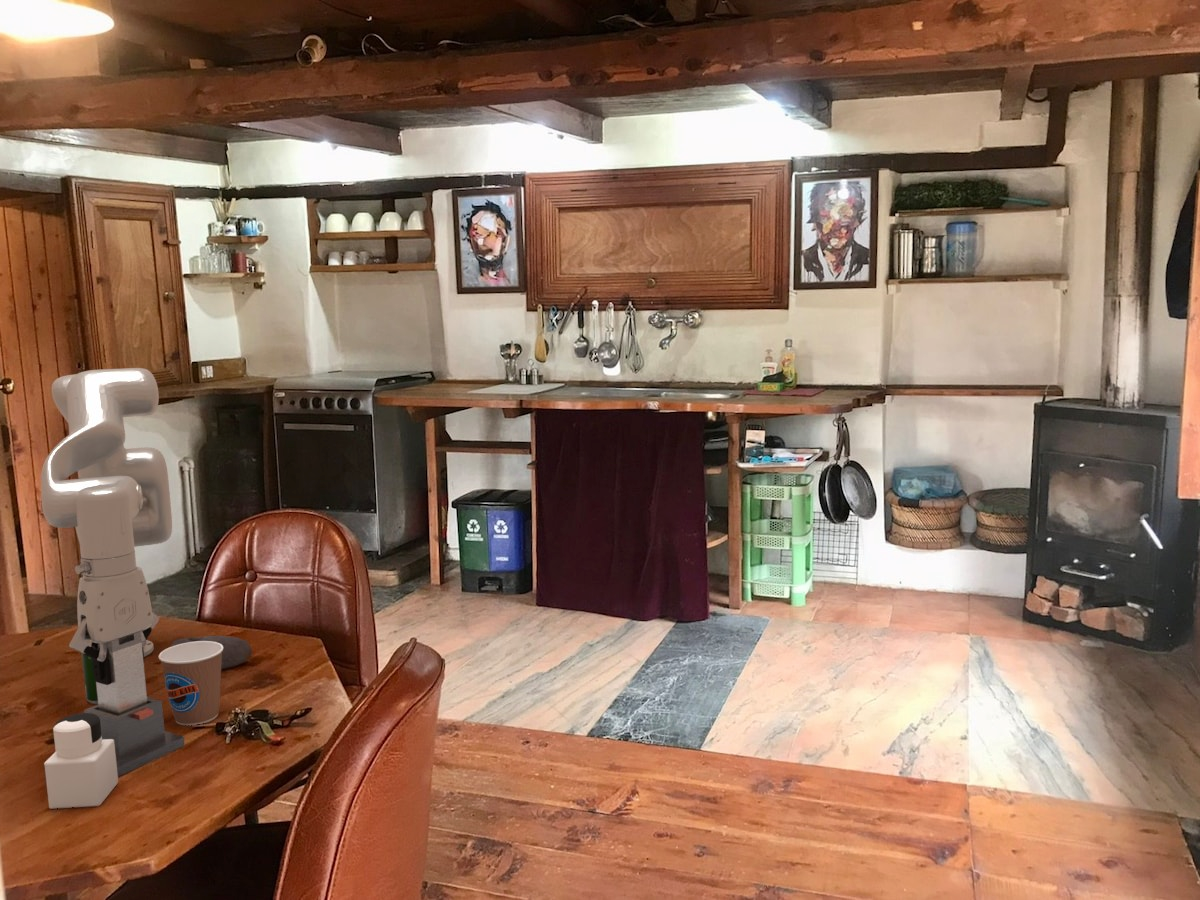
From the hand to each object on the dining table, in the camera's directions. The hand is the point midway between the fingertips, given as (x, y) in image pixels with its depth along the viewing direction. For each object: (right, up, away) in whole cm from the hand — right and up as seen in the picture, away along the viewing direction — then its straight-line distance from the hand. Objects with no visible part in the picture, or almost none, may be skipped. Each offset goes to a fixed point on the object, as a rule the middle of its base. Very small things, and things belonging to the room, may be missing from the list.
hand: (120, 675), depth 159 cm
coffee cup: (+6, -11, +15) cm, 20 cm away
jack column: (0, -8, +1) cm, 8 cm away
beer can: (-15, -10, +24) cm, 30 cm away
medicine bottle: (0, -15, -12) cm, 19 cm away
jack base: (0, -13, +2) cm, 13 cm away
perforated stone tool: (0, -8, +37) cm, 38 cm away
